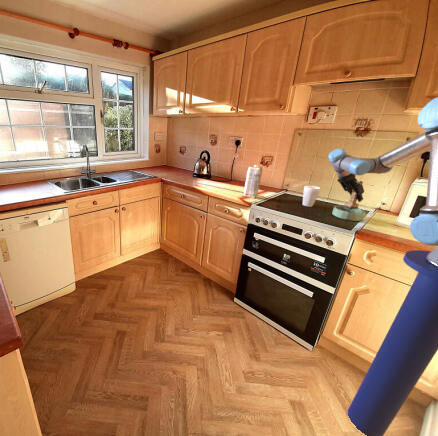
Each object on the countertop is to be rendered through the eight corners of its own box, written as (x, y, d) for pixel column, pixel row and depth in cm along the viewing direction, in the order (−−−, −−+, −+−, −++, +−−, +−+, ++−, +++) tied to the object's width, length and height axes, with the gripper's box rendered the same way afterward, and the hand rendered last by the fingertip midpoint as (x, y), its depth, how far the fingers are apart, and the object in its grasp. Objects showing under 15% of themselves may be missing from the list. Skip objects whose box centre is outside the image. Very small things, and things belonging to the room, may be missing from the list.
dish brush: (349, 209, 145) (358, 184, 140) (343, 207, 149) (351, 183, 144) (357, 208, 147) (366, 184, 141) (351, 206, 150) (359, 182, 145)
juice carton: (257, 196, 188) (263, 165, 179) (255, 198, 182) (261, 166, 173) (245, 194, 193) (250, 163, 184) (242, 196, 187) (247, 165, 178)
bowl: (365, 223, 140) (368, 215, 138) (332, 217, 148) (335, 210, 146) (360, 216, 152) (363, 208, 151) (330, 211, 160) (333, 203, 158)
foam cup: (296, 203, 173) (301, 186, 168) (305, 202, 176) (310, 185, 172) (309, 208, 165) (314, 189, 160) (318, 206, 168) (323, 188, 164)
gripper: (327, 174, 145) (341, 200, 154) (353, 180, 131) (366, 208, 140) (337, 165, 144) (350, 192, 153) (364, 170, 130) (377, 198, 139)
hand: (358, 199), depth 147 cm, fingers closed on dish brush, 2 cm apart
